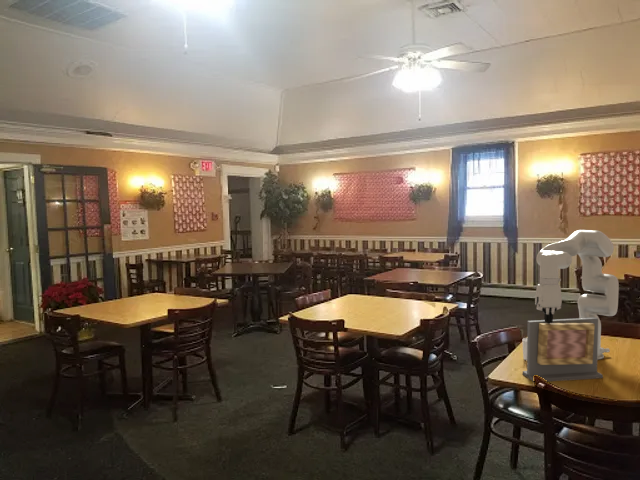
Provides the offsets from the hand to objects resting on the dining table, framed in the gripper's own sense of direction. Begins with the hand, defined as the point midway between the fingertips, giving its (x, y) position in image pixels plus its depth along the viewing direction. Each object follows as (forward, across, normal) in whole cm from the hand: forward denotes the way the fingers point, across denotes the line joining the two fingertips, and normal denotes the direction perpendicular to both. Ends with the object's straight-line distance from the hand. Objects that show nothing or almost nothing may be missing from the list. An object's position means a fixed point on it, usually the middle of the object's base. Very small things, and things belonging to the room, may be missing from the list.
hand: (548, 322), depth 217 cm
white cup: (+26, -6, -27) cm, 38 cm away
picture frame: (+19, -8, 0) cm, 20 cm away
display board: (+26, -8, -3) cm, 27 cm away
